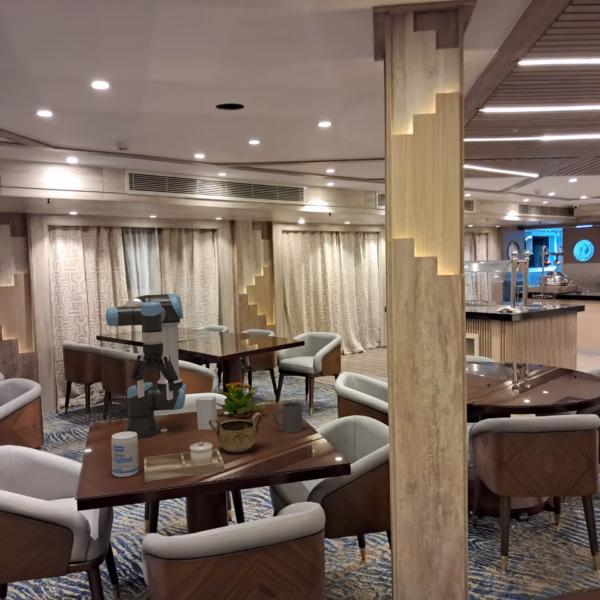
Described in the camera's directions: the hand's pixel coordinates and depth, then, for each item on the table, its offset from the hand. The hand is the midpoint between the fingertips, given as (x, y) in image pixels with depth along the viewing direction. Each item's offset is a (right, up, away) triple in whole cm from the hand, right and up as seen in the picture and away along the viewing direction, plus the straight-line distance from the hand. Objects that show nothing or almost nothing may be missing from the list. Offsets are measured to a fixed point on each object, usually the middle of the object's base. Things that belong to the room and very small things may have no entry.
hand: (155, 398), depth 210 cm
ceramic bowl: (+29, -26, +20) cm, 43 cm away
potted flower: (+26, -22, +74) cm, 81 cm away
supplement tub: (-11, -28, -2) cm, 30 cm away
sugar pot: (+18, -26, +1) cm, 31 cm away
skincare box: (+11, -24, +53) cm, 59 cm away
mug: (+50, -23, +45) cm, 71 cm away
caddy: (+11, -27, -1) cm, 29 cm away
